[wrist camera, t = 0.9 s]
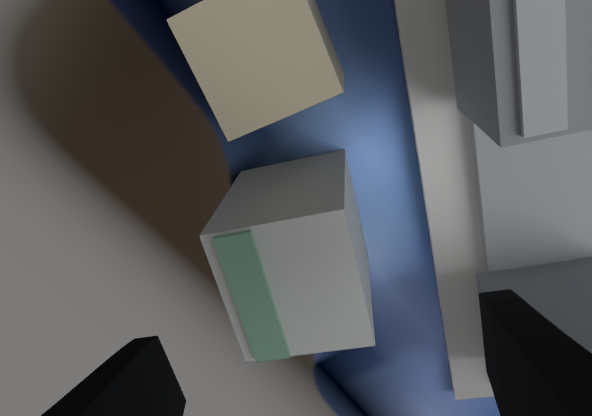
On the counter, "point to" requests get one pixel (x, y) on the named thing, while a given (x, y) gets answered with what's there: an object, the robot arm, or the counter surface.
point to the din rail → (503, 161)
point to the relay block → (258, 59)
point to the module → (292, 259)
